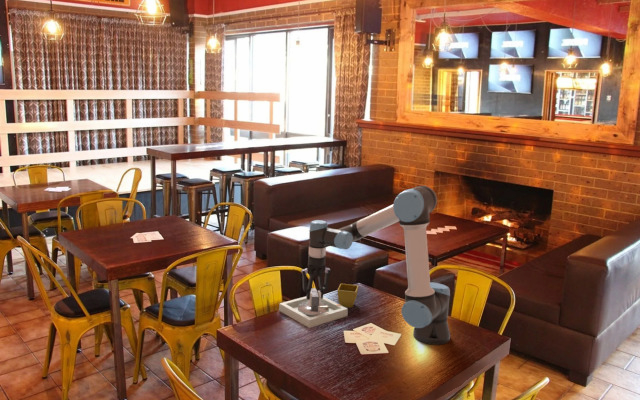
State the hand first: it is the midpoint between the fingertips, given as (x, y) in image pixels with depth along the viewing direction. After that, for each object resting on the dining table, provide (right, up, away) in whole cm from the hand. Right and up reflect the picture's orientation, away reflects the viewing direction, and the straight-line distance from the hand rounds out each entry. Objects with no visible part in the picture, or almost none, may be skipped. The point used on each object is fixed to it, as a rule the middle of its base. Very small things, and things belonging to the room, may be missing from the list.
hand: (314, 305), depth 253 cm
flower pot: (+15, -3, +14) cm, 21 cm away
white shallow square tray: (-1, -4, +4) cm, 6 cm away
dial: (-1, -3, +3) cm, 4 cm away
